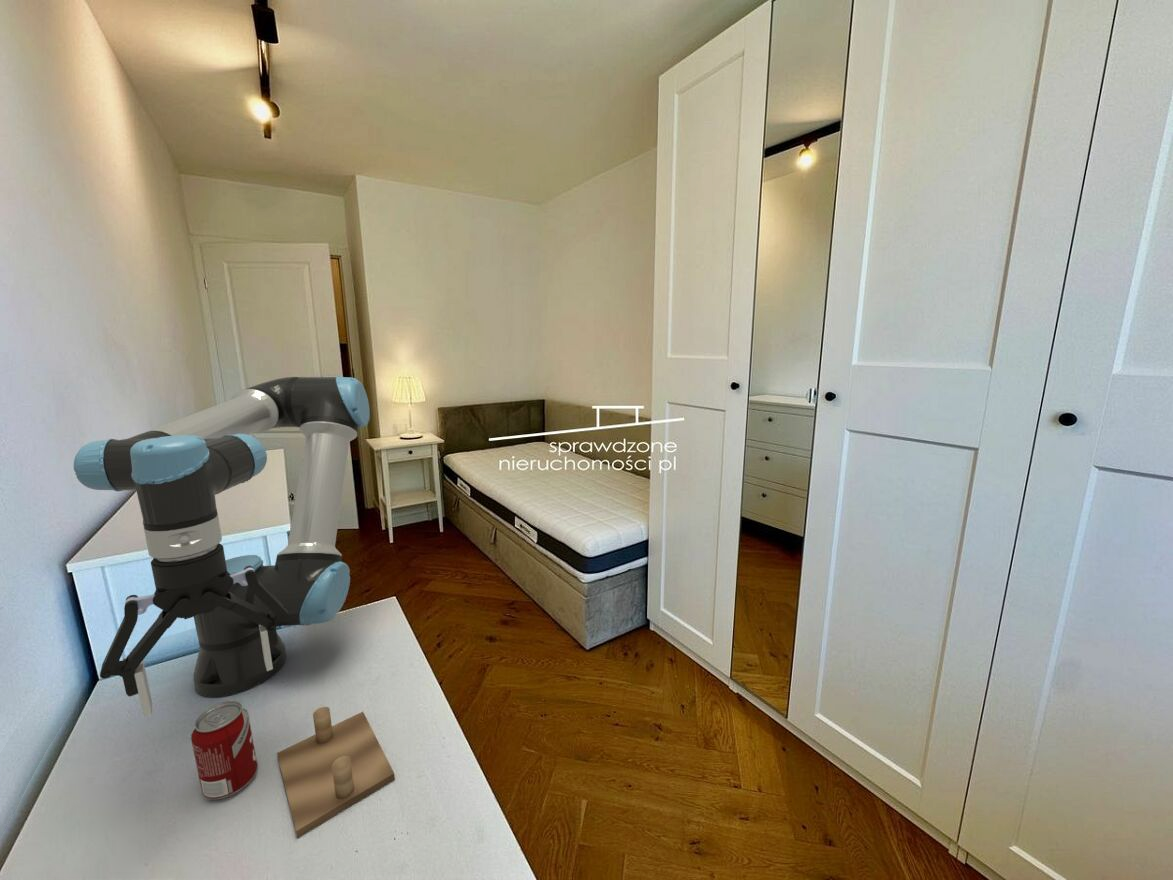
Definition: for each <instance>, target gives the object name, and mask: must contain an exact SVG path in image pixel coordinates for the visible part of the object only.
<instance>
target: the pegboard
mask: <svg viewBox="0 0 1173 880" xmlns="http://www.w3.org/2000/svg"><path fill="white" fill-rule="evenodd" d="M312 718H313V726H314V732H315V733H314V734H313V735H311V736H309V737H307V738H305V739H303V740H301V741H299V742H298V741H297V742H296V743H295V744H292V745H290V746H289V747H286V748H284V749H282V750H280V751H278V752H276V755H277V763H278V765H279V766H278V767H279V769H280V773H281V777H282V781H283V786H284V790H285V793H286V798H287V802H288V807H289V810H290V811H289V812H290V816H291V818H292V819H291V820H292V822H293V826H294V830H295V835H296V839H298V838H300V837H302V836H304V835H305V834H307V833H309V831H312V830H314V829H315V828H317V827H318V826H321V825H322V824H323V823H325V822H327V821H329V820H330V819H331V818H333V817H334V816H337V815H338V814H340V813H342V812H344V811H345V810H346V809H349V808H350V807H352V806H353V805H355V804H357V803H358V802H361V801H362V800H363V799H365V798H367V797H368V796H370V795H372V794H374V793H375V792H377V791H379V790H380V789H382V788H384V787H385V786H387V785H389V784H390V783H392V782H394V781H395V780H396V778H395V777H396V776H395V772H394V770H393V768H392V766H391V764H390V762H389V761H388V759H387V756H386V754H385V752H384V750H383V748H382V746H381V744H380V743H379V740H378V738H377V737H376V733H375V731H373V729H372V726H371V725H370V722H369V721H368V718H367V717H366V714H365V713H364V711H361V712H359V713H357V714H355V715H352V716H350V717H349V718H346V719H344V720H343V721H340V722H338V723H336V724H334V725H332V717H331V709H330V707H328V706H321V707H319V708H317V709H316V710H315V711H314V712H313V713H312Z"/></svg>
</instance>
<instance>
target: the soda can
mask: <svg viewBox="0 0 1173 880" xmlns="http://www.w3.org/2000/svg"><path fill="white" fill-rule="evenodd" d="M190 741H191V745H192V751H193V754H194V760H195V765H196V768H197V769H196V771H197V775H198V779H199V785H200V789H201V794H202V796H203V797H204V798H205V799H206V800H217V801H218V800H222V799H225V798H228V797H230V796H232V795H234V794H237V793H238V792H240V791H241V790H243V788H245V787H246V786H247V785H249V784H250V782H251V781H252V780H253V779H254V777H256V776H255V775H256V774H257V772H258V768H259V767H258V761H257V755H256V749H255V744H254V736H253V732H252V725H251V720H250V714H249V711H248V710H247V709H245V708H243V706H242V703H241V702H239V701H236V700H235V701H233V700H232V701H229V700H228V701H225V702H221V703H218V704H215V705H213V706H212V707H210V708H208V709H206V710H204V711H203V712H202V713H201V714H200V715H199V716H198V717H197V719H196V720H195V722H194V729H193V731H192V732H191V737H190Z"/></svg>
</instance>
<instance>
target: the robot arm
mask: <svg viewBox="0 0 1173 880" xmlns="http://www.w3.org/2000/svg"><path fill="white" fill-rule="evenodd" d="M370 411H371V410H370V403H369V399H368V394H367V392H366V389H365V387H364V385H363V384H362V383H361V381H360V380H358V379H357V378H355V377H352V376H351V377H350V376H349V377H346V376H345V377H344V376H340V375H337V376H334V377H333V376H329V377H328V376H327V377H325V376H316V377H315V376H313V377H312V376H307V377H306V376H305V377H304V376H287V377H286V376H285V377H282V378H281V377H280V378H276V379H273V380H268V381H266V382H262V383H259V384H256V385H252V386H250V387H246V388H244V389H242V390H239V391H237V392H236V393H235V394H234V395H233V396H232V397H231V398H230V400H227V401H225V402H224V401H223V402H221V403H219V404H217V405H214V406H211V407H208V408H206V409H204V410H200V411H198V412H196V413H193V414H191V415H187V416H185V417H182V418H179V419H177V420H174V421H172V422H169V423H166V424H164V425H162V426H159V427H156V428H153V429H151V430H149V431H145V432H142V433H140V434H137V435H134V436H130V437H129V438H125V439H124V438H123V439H116V438H115V439H114V438H107V439H105V440H95V441H91V442H87V443H86V444H84V445H83V446H82V447H80V449H78V451H77V452H76V455H75V456H74V458H73V459H74V460H73V470H74V472H75V473H74V475H75V476H76V479H77V481H79V483H81V484H82V485H83V486H84V487H86V488H88V489H91V490H96V491H115V492H123V491H136V496H137V498H138V499H137V500H138V503H139V504H138V505H139V508H140V513H141V516H142V525H143V531H144V536H145V541H146V547H147V551H148V552H147V553H148V556H150V558H152V559H151V562H150V567H151V571H152V578H153V581H154V587H155V591H154V593H153V594H149V595H142V596H138V595H136V594H131V595H129V596H126V599H125V601H124V606H123V607H124V609H123V610H124V616H123V618H122V620H121V623H120V625H119V628H118V629H117V632H116V633H115V636H114V638H113V640H112V642H111V645H110V647H109V649H108V651H107V654H106V655H105V658H104V659H103V662H102V665H101V669H100V673H99V677H100V678H101V679H104V680H105V679H108V678H110V677H113V676H114V677H115V676H119V677H121V678H122V682H123V685H124V690H125V694H126V695H127V696H128V697H129V698H130V697H132V696H133V697H134V696H135V695H138V698H139V700H140V701H139V702H140V706H141V711H142V715H143V719H144V718H145V719H146V718H148V717H151V716H152V714H153V700H152V695H151V691H150V686H149V682H148V677H147V671H146V668H145V663H144V660H145V658H146V657H147V656H148V654H149V653H150V652H151V651H152V649H153V648H154V647H155V645H156V644H157V643H158V642H159V640H160V639H161V638H162V637H163V635H164V633H166V632H167V630H168V629H170V627H172V625H173V624H174V622H175V621H176V620H177V619H184V620H188V619H191V618H193V621H194V626H195V630H196V635H197V639H198V645H199V650H198V654H197V658H196V662H195V667H194V671H193V676H192V677H193V679H192V680H193V684H194V688H195V691H196V692H197V693H198V694H199V695H201V696H204V697H210V698H218V697H226V696H232V695H235V694H239V693H242V692H246V691H247V690H249V689H252V688H254V687H257V686H258V685H260V684H262V683H264V682H265V681H267V680H269V679H270V678H272V677H273V676H274V675H275V674H277V673H278V671H280V670H281V669H282V667H283V666H284V665H285V663H286V661H287V656H288V655H287V650H286V645H285V642H284V641H283V640H282V638H281V637H280V635H279V634H278V632H277V627H284V626H285V627H288V626H289V627H291V626H311V625H313V624H322V623H323V624H324V623H327V622H329V621H332V620H333V618H335V617H336V616H337V615H338V614H339V612H340V611H341V609H342V607H344V606H343V605H345V604H344V603H345V602H346V599H347V596H348V593H349V590H350V589H349V588H350V585H351V584H350V583H351V576H350V573H351V570H350V567H349V565H348V564H347V563H345V562H343V561H342V556H343V554H342V553H341V552H340V551H339V550H338V549H337V548H336V542H337V532H338V527H339V520H340V519H339V518H340V511H341V504H342V497H343V489H344V483H345V482H344V481H345V474H346V466H347V460H348V451H349V447H350V446H349V443H350V442H351V441H353V440H355V439H356V438H357V437H358V430H359V428H364V427H367V426H368V425H369V423H370V416H371V414H370ZM276 428H277V429H280V428H299V429H298V430H299V431H300V433H301V434H302V435H303V436H304V437H305V440H304V446H303V452H302V459H301V463H300V464H301V465H300V470H299V477H298V482H297V488H296V493H295V499H294V504H293V512H292V516H291V523H290V529H289V535H288V541H287V546H285V548H284V549H282V550H281V551H279V552H278V553H276V554H277V555H276V558H275V559H276V560H275V563H274V565H264V560H263V559H262V558H261V557H262V556H261V557H260V556H258V555H257V554H248V555H247V554H245V555H240V556H236V557H235V556H234V557H232V558H229V559H226V554H225V548H224V545H222V544H221V542H222V539H223V536H222V530H221V526H220V519H219V513H218V509H217V502H216V495H219V494H221V493H222V492H223V491H227V490H229V489H232V488H233V487H236V486H238V485H240V484H244V483H246V482H248V481H250V480H251V479H252V478H253V477H255V476H258V475H259V474H260V473H261V472H262V471H264V469H265V467H266V464H267V461H268V454H267V450H266V448H265V446H264V445H263V444H262V442H260V440H258V439H257V438H255V437H254V436H252V435H251V434H253V433H266V432H267V431H270V430H272V429H276ZM151 605H154V606H155V607H157V608H159V609H160V610H161V611H160V613H159V615H158V617H157V618H156V619H155V621H154V622H153V623H152V624H151V626H150V627H149V629H147V631H146V632H145V633H144V635H143V636H142V637H141V639H140V640H139V641H138V642H137V644H135V646H134V648H133V649H132V650H131V651H130V652H129V654H128V655H127V656H126V658H123V659H122V660H120V659H121V657H122V655H123V653H124V651H125V649H126V646H127V645H128V642H129V640H130V639H131V636H132V633H133V632H134V629H135V626H136V624H137V622H138V617H139V616H140V615H143V614H144V613H146V612H147V609H148V608H149V607H150V606H151Z"/></svg>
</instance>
